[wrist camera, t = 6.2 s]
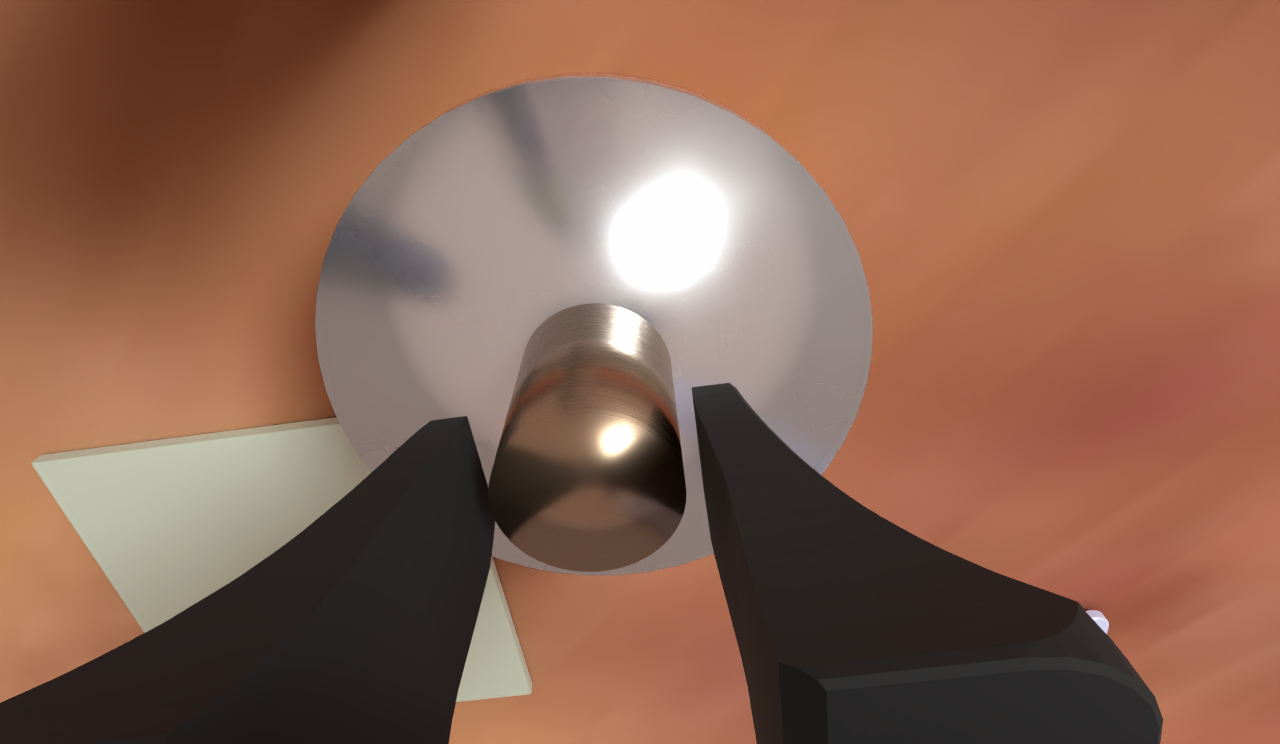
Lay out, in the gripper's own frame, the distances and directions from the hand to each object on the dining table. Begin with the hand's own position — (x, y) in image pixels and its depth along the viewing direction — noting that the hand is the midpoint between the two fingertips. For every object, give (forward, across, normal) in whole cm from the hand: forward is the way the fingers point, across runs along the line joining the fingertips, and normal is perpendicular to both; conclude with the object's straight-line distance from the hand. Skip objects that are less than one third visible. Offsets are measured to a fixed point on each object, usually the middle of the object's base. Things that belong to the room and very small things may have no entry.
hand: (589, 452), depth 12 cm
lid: (+4, 0, 0) cm, 4 cm away
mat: (+8, +11, +9) cm, 16 cm away
